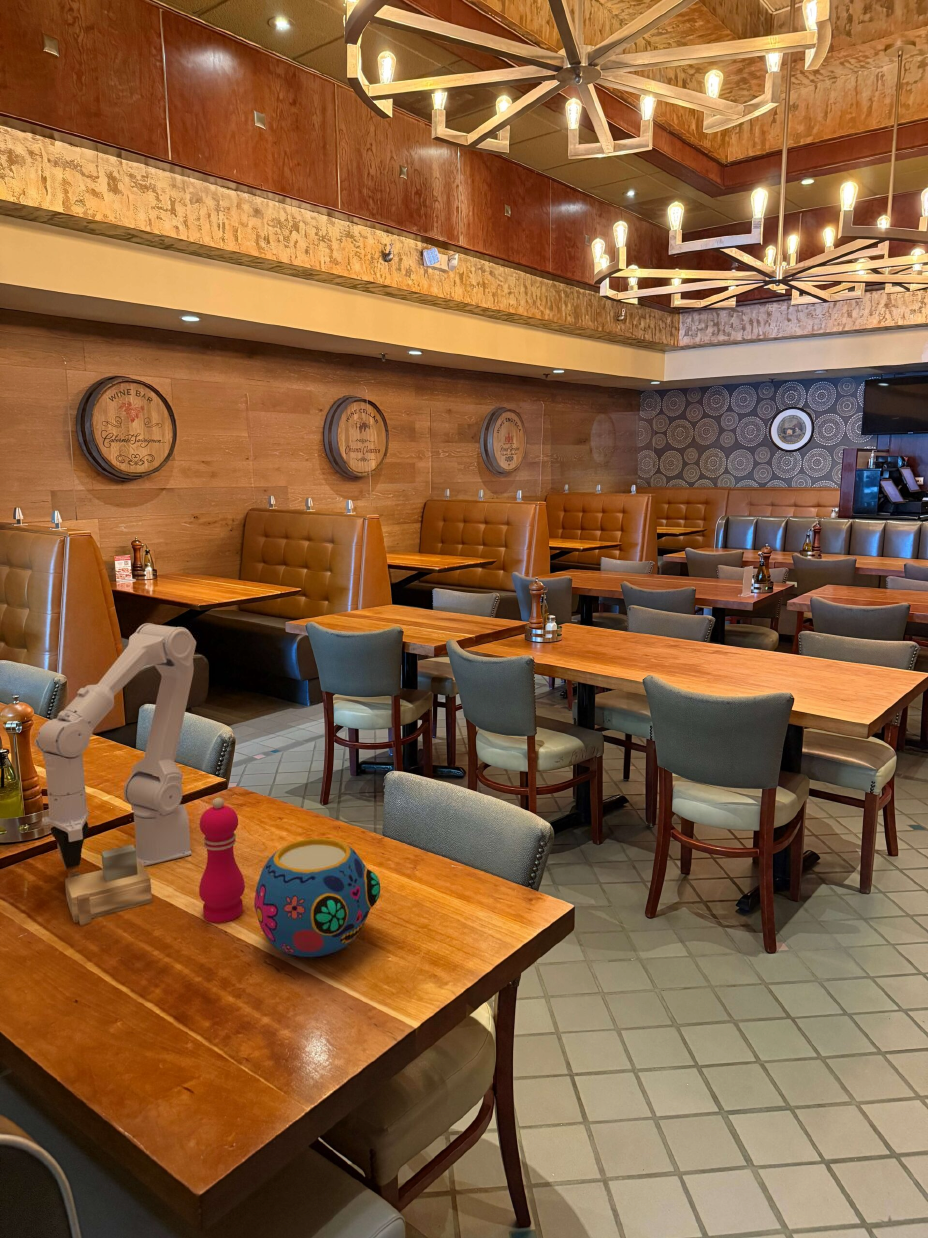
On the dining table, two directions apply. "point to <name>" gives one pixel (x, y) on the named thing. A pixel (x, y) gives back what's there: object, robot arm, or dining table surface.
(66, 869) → the rectangular bar
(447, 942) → the dining table surface
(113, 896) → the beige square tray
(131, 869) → the lid
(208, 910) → the pepper mill
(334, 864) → the ceramic pot
